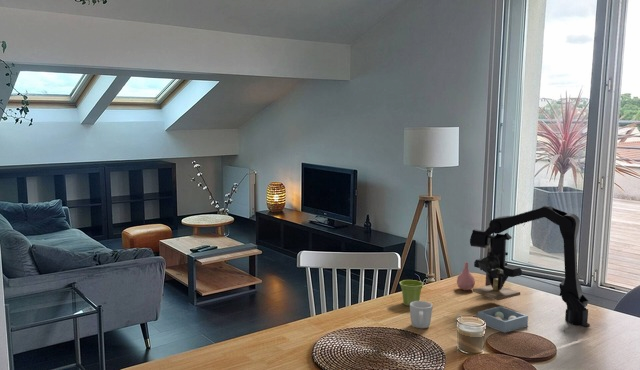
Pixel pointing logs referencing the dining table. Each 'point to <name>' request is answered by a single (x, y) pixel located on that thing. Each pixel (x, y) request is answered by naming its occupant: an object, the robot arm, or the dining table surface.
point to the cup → (420, 314)
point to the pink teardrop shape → (465, 279)
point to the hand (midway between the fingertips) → (496, 288)
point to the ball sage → (499, 315)
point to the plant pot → (411, 291)
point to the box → (503, 324)
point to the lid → (496, 291)
